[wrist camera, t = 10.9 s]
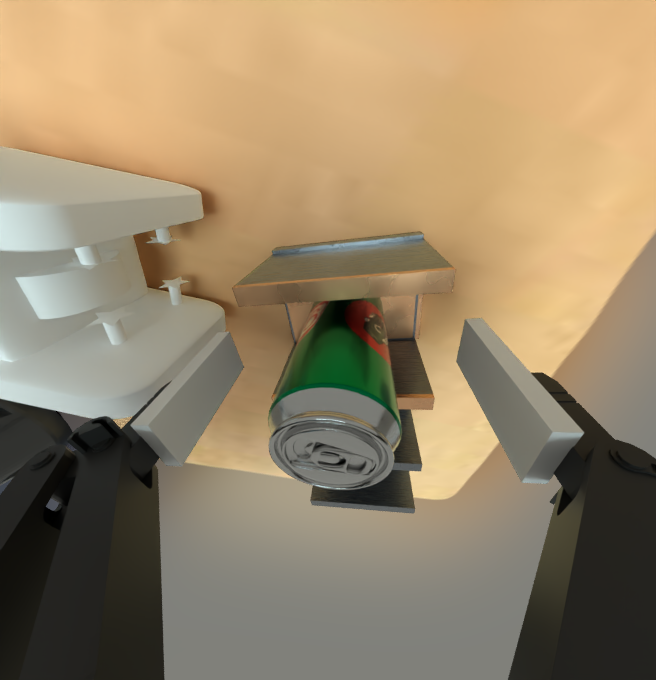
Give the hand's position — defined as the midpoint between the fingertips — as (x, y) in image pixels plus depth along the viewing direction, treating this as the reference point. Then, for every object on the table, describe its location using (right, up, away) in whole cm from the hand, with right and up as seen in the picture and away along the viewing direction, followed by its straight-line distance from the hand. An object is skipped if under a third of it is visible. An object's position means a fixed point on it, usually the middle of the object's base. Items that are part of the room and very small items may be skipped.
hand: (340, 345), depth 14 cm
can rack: (+2, -3, +9) cm, 10 cm away
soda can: (+1, +3, +4) cm, 5 cm away
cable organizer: (-15, +8, +5) cm, 18 cm away
